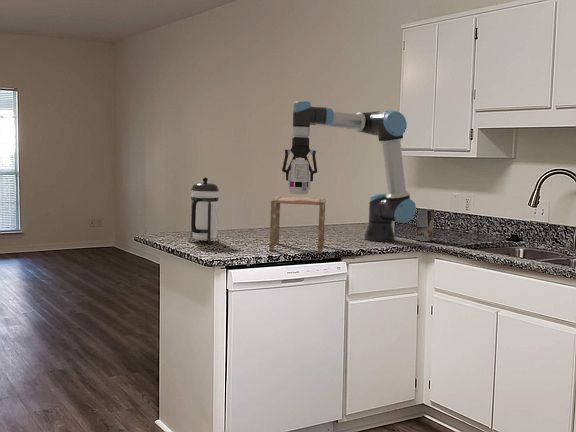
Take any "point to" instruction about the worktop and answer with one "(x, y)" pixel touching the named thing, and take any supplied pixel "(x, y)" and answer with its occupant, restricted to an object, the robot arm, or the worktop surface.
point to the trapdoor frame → (276, 223)
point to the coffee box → (425, 224)
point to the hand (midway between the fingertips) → (299, 188)
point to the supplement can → (299, 176)
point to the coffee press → (204, 211)
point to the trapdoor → (299, 201)
